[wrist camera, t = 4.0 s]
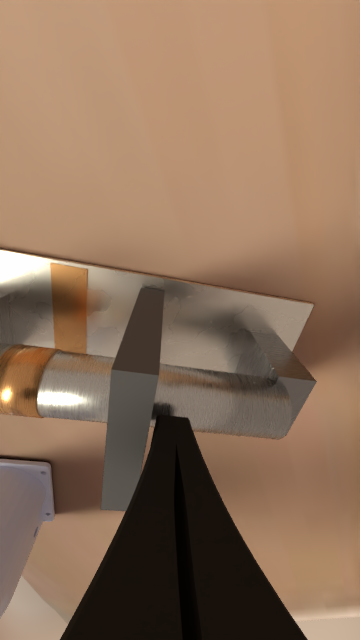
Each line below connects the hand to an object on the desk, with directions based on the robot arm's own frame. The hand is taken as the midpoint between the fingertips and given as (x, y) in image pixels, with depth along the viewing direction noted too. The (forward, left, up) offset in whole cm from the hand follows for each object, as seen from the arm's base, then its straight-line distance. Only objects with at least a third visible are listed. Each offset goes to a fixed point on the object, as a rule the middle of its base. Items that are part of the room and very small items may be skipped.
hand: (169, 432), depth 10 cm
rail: (0, +2, -7) cm, 8 cm away
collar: (0, +2, -7) cm, 7 cm away
